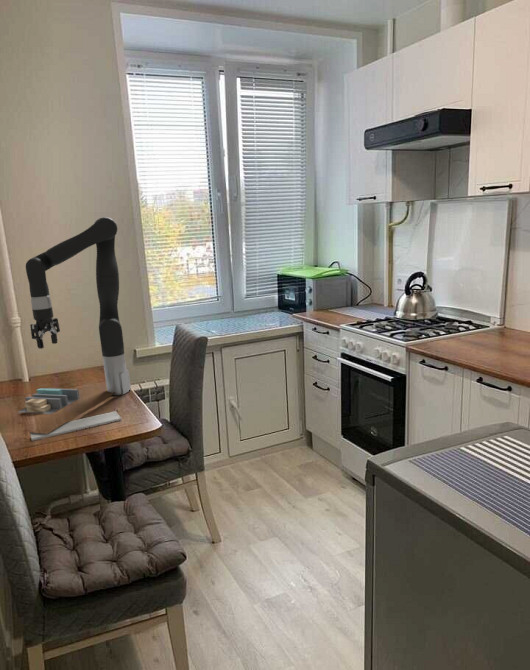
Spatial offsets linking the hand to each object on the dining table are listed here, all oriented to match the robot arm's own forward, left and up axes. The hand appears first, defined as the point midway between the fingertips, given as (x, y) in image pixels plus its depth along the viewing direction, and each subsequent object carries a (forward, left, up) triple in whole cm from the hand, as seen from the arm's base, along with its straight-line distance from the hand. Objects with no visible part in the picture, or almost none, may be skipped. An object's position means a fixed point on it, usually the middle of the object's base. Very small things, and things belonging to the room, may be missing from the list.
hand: (48, 345), depth 209 cm
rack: (-2, +7, -25) cm, 26 cm away
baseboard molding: (-25, +21, -26) cm, 42 cm away
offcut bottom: (-2, +13, -23) cm, 27 cm away
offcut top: (-1, +13, -21) cm, 25 cm away
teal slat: (-4, +2, -21) cm, 21 cm away
